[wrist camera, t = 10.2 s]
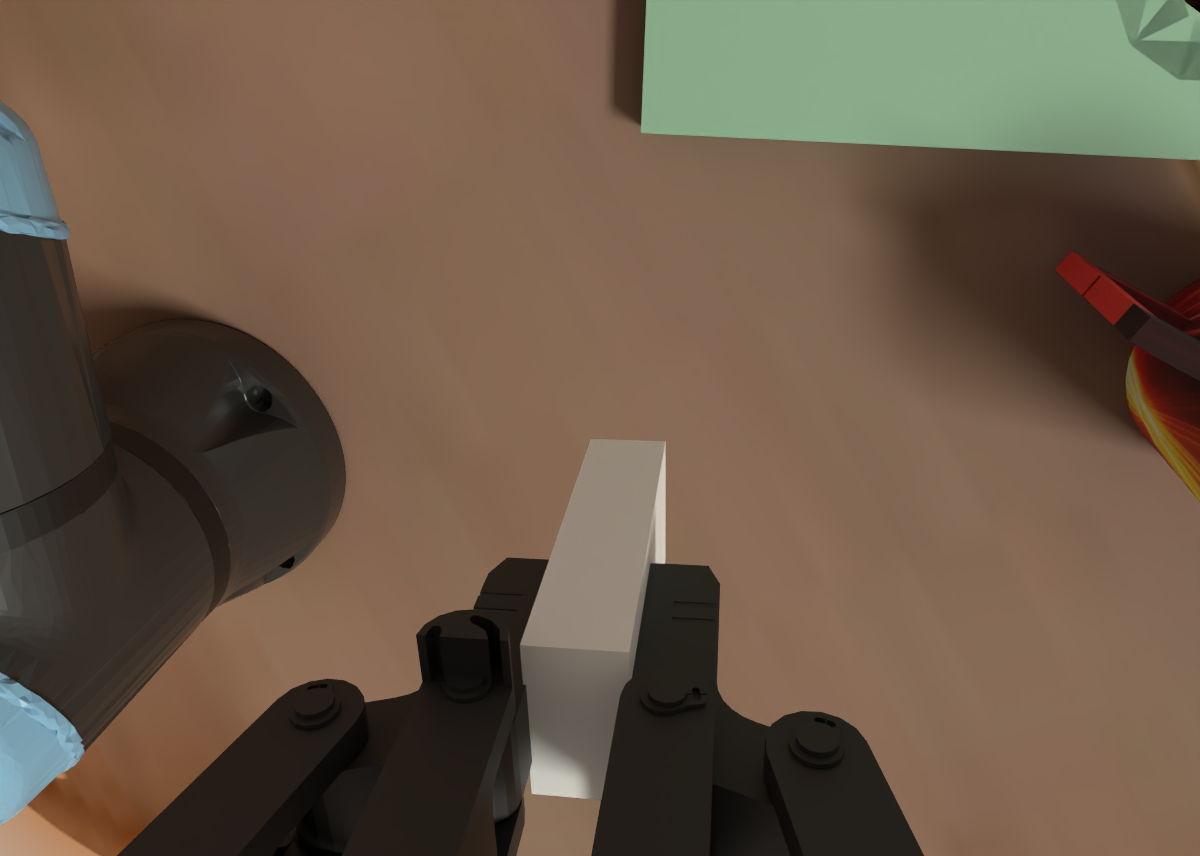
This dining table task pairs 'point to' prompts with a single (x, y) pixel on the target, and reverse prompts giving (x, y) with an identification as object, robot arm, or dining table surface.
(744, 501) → the dining table surface
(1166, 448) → the mug
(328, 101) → the dining table surface
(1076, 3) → the board with hole
